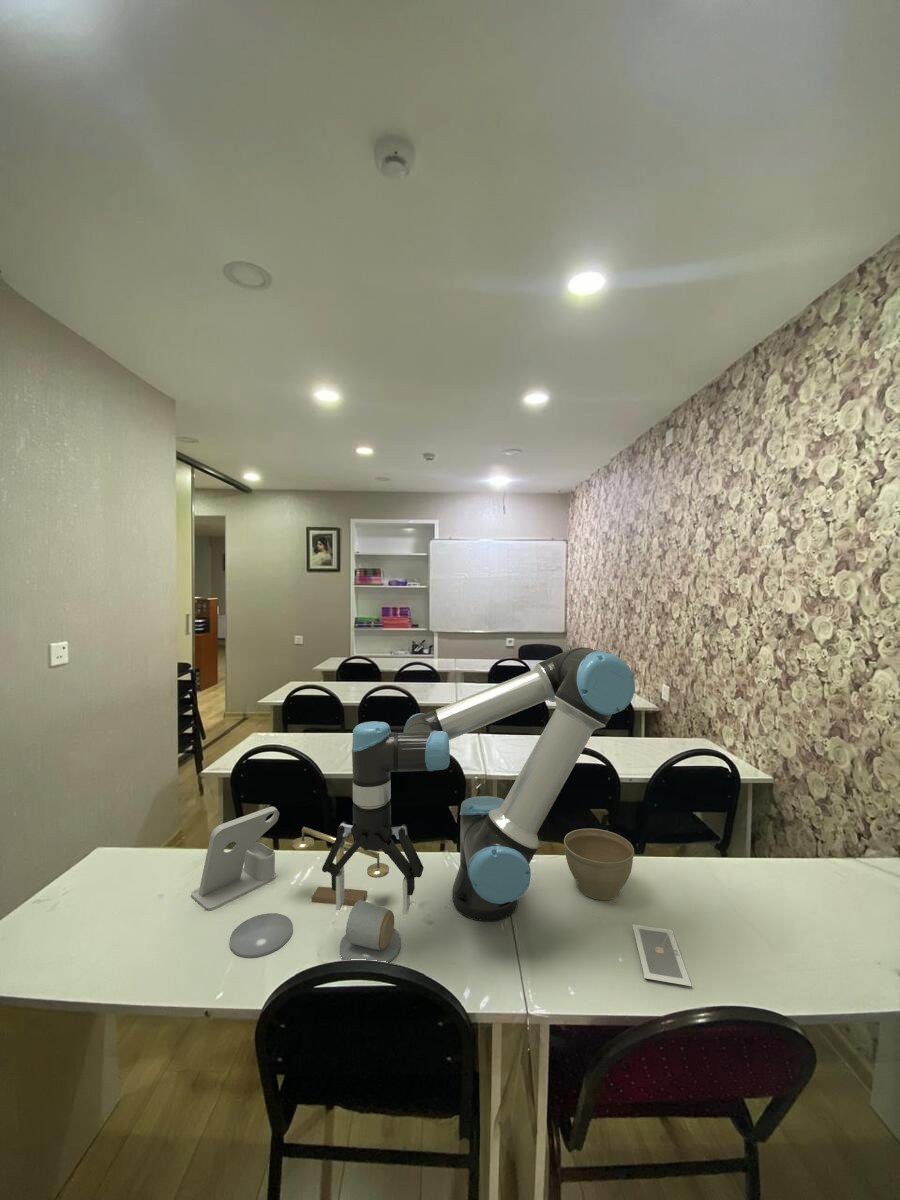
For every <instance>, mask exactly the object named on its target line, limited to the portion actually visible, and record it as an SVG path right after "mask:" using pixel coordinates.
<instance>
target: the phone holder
mask: <svg viewBox="0 0 900 1200" xmlns="http://www.w3.org/2000/svg"><path fill="white" fill-rule="evenodd" d="M271 814H272V816H271V817H269V816H270V815H271ZM279 816H280V812H279V810H278V809H277V808H276V807H275V806H269V807H266V808H263V809H261V810H257V811H255V812H251V813H249V814H246V815H244V816H240V817H237V818H235V819H233V820H229V821H226V822H224V823H221V824H219V825H217V826H216V827H214V829H213V830H212V832H211V833H210V835H209V840H208V841H209V842H208V846H207V851H206V856H205V860H204V865H203V869H202V876H201V878H200V884H199V887H197V888H196V889H193V890H192V891H191V892H190V897H191V899H192V900H193V901H194V902H196V903H197V904H198V905H199V906H201V908H203V909H204V910H205V911H207V912H212V911H215V910H218V909H219V908H221V907H223V906H225V905H228V904H229V903H231V902H233V901H235V900H237V899H239V898H242V897H244V896H246V895H247V894H249V893H252V892H253V891H255V890H257V889H260V888H262V887H263V886H266V885H267V884H268V885H269V883H271V882H273V881H275V880H276V879H277V874H276V872H275V871H276V870H275V869H276V868H275V866H276V860H275V859H276V858H275V857H276V852H275V850H274V849H272V848H270V847H268V846H266V845H265V844H264V843H262V842H257V841H258V840H259V839H260V838H261V837H262V836H263V835H265V833H266V832H268V831H269V830H270V829H271V828H272V827H273V826H274V825H275V824H276V823H277V822H278V820H279ZM268 817H269V818H268ZM267 818H268V819H267ZM230 843H235V845H234V846H233V847H232V849H231V850H230V851H227V852H225V848H226V847H227V846H228V845H229V844H230Z"/></svg>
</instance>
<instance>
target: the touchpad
mask: <svg viewBox="0 0 900 1200" xmlns="http://www.w3.org/2000/svg"><path fill="white" fill-rule="evenodd" d="M631 925H632V929H633V933H634V937H635V942H636V946H637V951H638V955H639V959H640V964H641V967H642V972H643V978H644V979H648V980H654V981H658V982H659V981H660V982H663V983H664V982H665V983H671V984H674V985H675V984H676V985H683V986H688V987H692V983H691V980H690V978H689V974H688V971H687V969H686V966H685V964H684V961H683V957H682V955H681V952H680V950H679V946H678V944H677V941H676V937H675V936H674V932H673V929H666V928H662V927H661V928H660V927H654V926H646V925H641V924H640V925H639V924H634V923H632V924H631Z"/></svg>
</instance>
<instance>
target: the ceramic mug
mask: <svg viewBox="0 0 900 1200" xmlns="http://www.w3.org/2000/svg"><path fill="white" fill-rule="evenodd" d="M345 928H346V929H345V934H346V940H347V942H348V943H350V944H355V945H359V946H363V947H367V948H371V949H375V950H383V949H385V948H386V947H387V945H388V944H389V942H390V939H391V936H392V933H393V929H395V913H394V912H393V911H392V910H391V909H389V908H387V907H386V906H381V905H378V904H375V903H372V902H369V901H366V900H365V901H363V900H359V901H357V902H356V903H355V905H354V906H352V908H351V910H350V912H349V915H348V919H347V922H346V927H345Z"/></svg>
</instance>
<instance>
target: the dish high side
mask: <svg viewBox="0 0 900 1200" xmlns="http://www.w3.org/2000/svg"><path fill="white" fill-rule="evenodd" d="M293 926H294V925H293V922H292V920H291V919H290V918H289V917H288V916H287V915H285V914H282V913H273V912H271V913H270V912H268V913H263V914H258V915H255V916H253V917H250V918H248V919H246V920H244V921H243V922H241V923H240V924H239V925H237V926H236V927H235V928H234V929H233V931H232V932H231V934H230V936H229V948H230V951H231V952H232V953H233V954H234V955H236V956H237V957H240V958H246V959H255V958H260V957H261V958H262V957H264V956H268V955H270V954H272V953H275V952H276V951H278V950H280V949H281V948H282V947H284V946H285V945H286V944H287V943H288V941H289V940H290V938H291V937H292V936H293V935H292V934H293Z"/></svg>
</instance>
